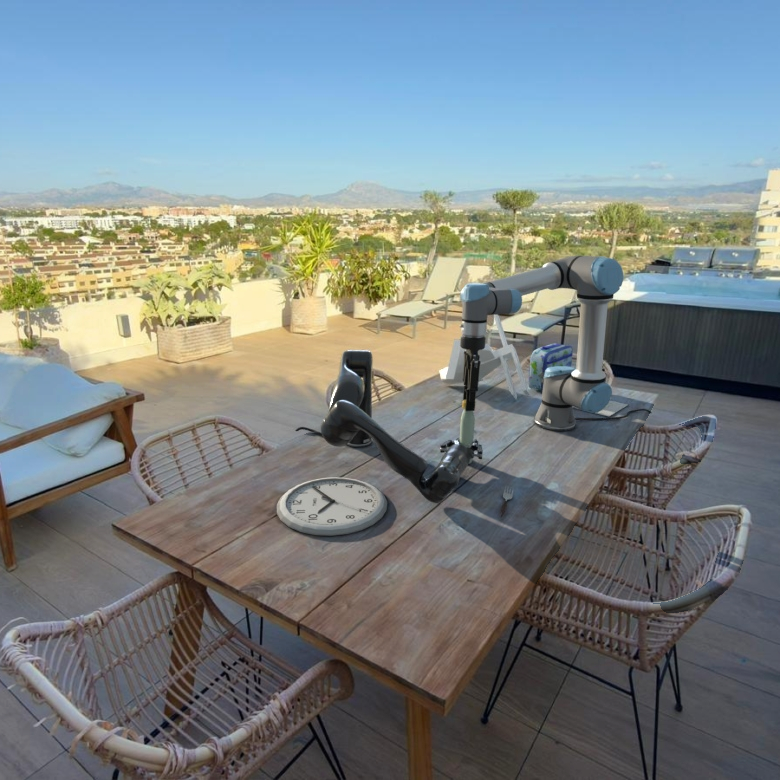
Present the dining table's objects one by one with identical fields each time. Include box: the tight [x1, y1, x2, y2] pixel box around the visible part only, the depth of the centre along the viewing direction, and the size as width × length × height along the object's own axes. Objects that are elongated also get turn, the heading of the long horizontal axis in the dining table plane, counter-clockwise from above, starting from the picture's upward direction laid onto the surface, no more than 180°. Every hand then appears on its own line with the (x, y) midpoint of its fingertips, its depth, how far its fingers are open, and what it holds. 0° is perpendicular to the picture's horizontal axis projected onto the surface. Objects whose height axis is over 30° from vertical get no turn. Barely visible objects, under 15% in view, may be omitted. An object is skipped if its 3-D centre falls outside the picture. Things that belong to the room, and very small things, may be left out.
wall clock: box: [276, 476, 388, 537], centre depth 142 cm, size 30×2×30 cm
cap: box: [461, 399, 466, 410], centre depth 166 cm, size 4×4×2 cm
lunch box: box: [528, 343, 574, 392], centre depth 249 cm, size 26×11×21 cm, turn 134°
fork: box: [500, 486, 514, 518], centre depth 144 cm, size 3×16×2 cm, turn 160°
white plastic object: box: [438, 314, 531, 400], centre depth 245 cm, size 37×45×31 cm
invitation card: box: [573, 400, 629, 418], centre depth 226 cm, size 21×1×15 cm
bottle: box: [459, 409, 476, 465], centre depth 168 cm, size 4×4×20 cm
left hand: (468, 440), depth 172 cm, fingers closed on bottle, 4 cm apart
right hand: (468, 407), depth 166 cm, fingers closed on cap, 4 cm apart
